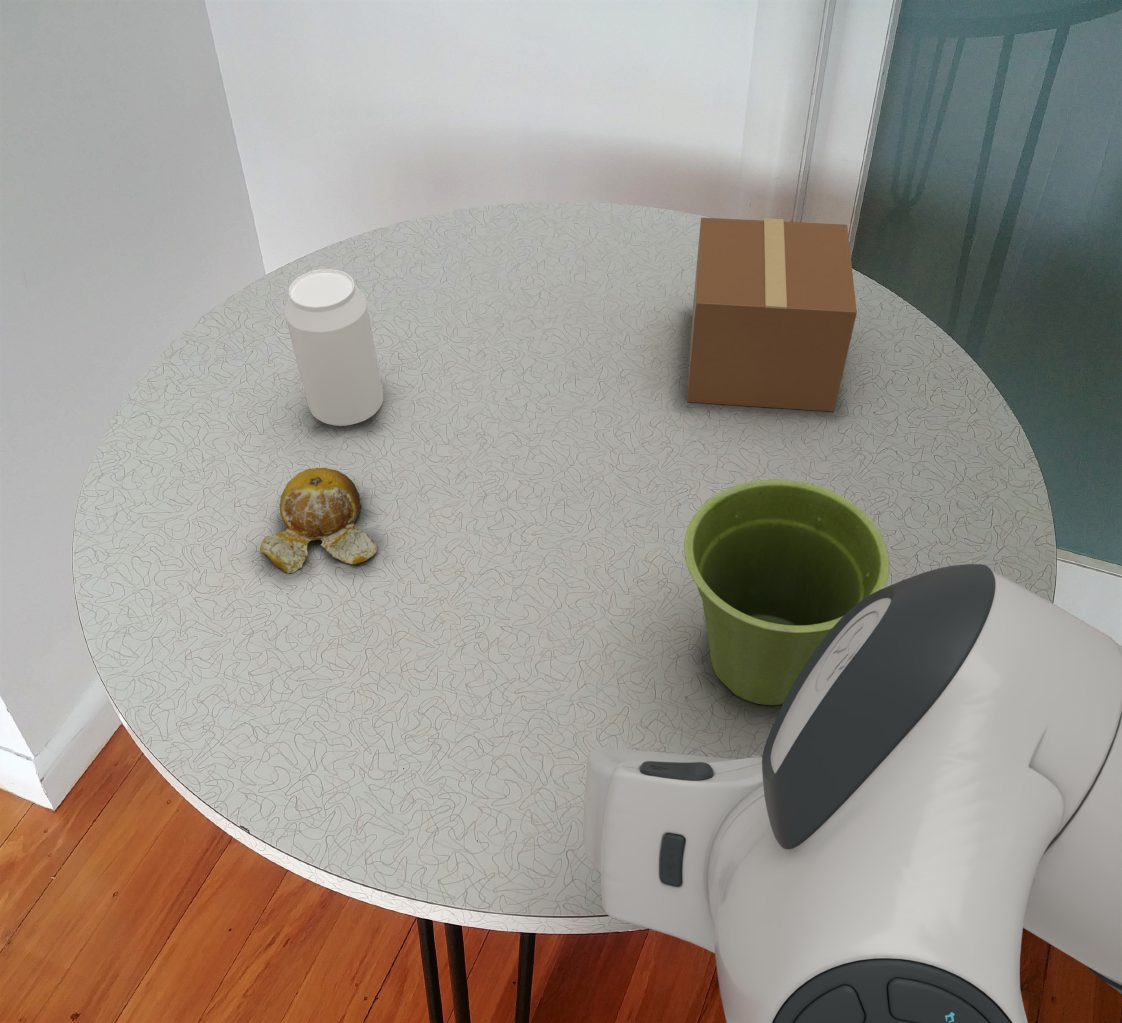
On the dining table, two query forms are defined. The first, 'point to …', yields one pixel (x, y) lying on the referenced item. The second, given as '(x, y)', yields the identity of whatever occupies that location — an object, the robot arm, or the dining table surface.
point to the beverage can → (334, 347)
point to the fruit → (318, 520)
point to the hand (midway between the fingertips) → (777, 771)
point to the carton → (771, 314)
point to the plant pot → (778, 578)
